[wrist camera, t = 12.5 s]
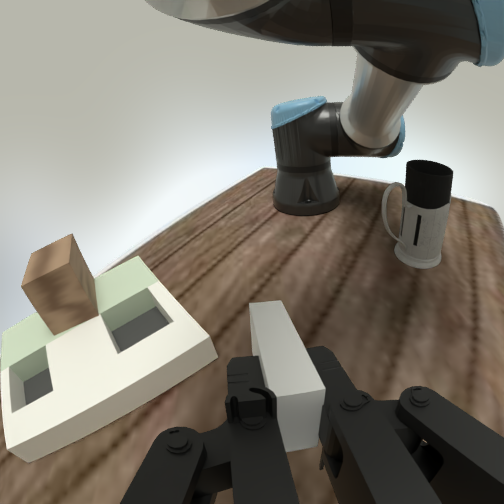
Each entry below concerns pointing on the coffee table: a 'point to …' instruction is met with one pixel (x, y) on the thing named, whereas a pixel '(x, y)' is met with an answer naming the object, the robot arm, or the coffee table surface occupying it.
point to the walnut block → (60, 285)
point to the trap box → (96, 362)
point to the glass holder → (422, 213)
